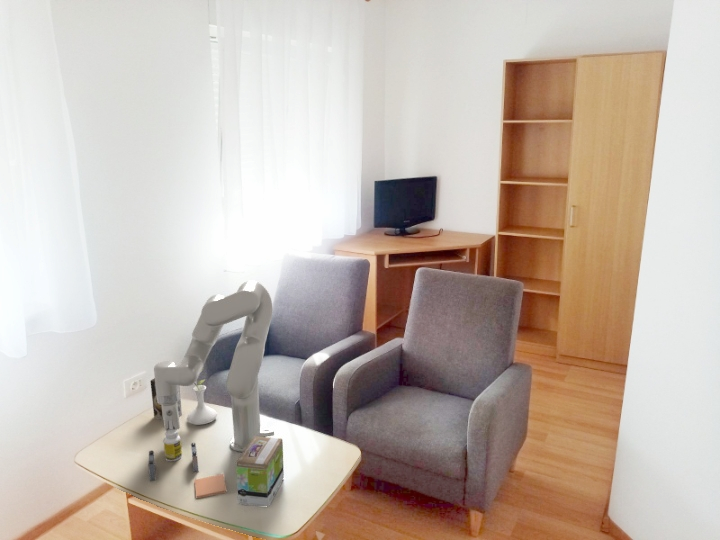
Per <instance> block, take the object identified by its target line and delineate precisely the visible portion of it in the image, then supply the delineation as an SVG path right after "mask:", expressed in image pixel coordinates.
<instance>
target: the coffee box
mask: <svg viewBox="0 0 720 540" xmlns="http://www.w3.org/2000/svg"><path fill="white" fill-rule="evenodd" d="M180 387H181V386H179V394H180V395H181V390H180V389H181V388H180ZM150 390H151V398H152V399H151V400H152V408H153V417H154V418H155V419H159V420H163V415H162V406H161V405H160V404H158V403H157V394H156V385H155V377H153V378H152V379H151V380H150ZM177 403H178V411H179V417H180V416H182V415H183V412H182V401H181V398H180V400H179V401H178V402H177Z"/></svg>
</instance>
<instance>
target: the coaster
mask: <svg viewBox="0 0 720 540" xmlns="http://www.w3.org/2000/svg"><path fill="white" fill-rule="evenodd" d="M194 486H195V487H194V488H195V497H196V498H195V499H200V498H201V499H202V498H206V497H210V496H215V495H219V494H223V493H227V487H226V480H225V475H224V473H221V474H216V475H212V476H207V477H202V478H197V479H194Z"/></svg>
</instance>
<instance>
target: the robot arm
mask: <svg viewBox="0 0 720 540" xmlns="http://www.w3.org/2000/svg"><path fill="white" fill-rule="evenodd" d="M272 317H273V302H272V298H271V296H270V293H269V291H268V290H267V289H266V287H265V286H264V285H263V284H261V283H260V282H258V281H256V280H247V281H245V282H243V283H242V284H241V285H240V286H239V287H238V289H237V291H236V292H234V293H231V294H229V295H227V296H225V295H223V294H214V295H212V296H210V297H209V298H207V300H206V302H205V304H204V305H203V306H202V308H201V312H200V315H199V318H198V320H197V322H196V324H195V325H194V326H195V327H194V328H193V330H192V333H191V336H192V337H191V341H190V343H189V346H188V348H187V350H186V353H185V355H184V356H183V358H182V360H181V362H180V364H179V365H177V363H175V362H174V361H171V360H164V361H160V362H158V363H156V364H155V365H154V367H153V373H154V378H155V385H156V394H157V403H158V404H160V405H161V406H162V415H163V419H162V421H163V427H164V432H166V431H168V430H172V429H176V430H177V431H178V430H180V428H181V427H180V425H181V424H180V422H181V421H180V416H179V411H178V403H177V402H178V401H179V400H180V399H181V393H180V394H179V386H180V387H190V386H193V385H195V384H196V382H197V381H198V378H199V376H200V375H201V373H202V372H201V370H202V368H203V367H204V365H205V363H206V360H207V359H208V358H209V357H208V356H209V354H210V352H211V351H212V349H213V346H214V345H216V343H217V340H218V338H219V336H220V334H221V333H222V332H221V331H222V329H223V327H224V326H225V325H227V324H229V323H231V322H234V321H237V320H239V319H242V318H245V321H244V325H243V328H242V332H241V335H240V338H239V340H238V342H237V344H236V347H235V350H234V353H233V356H232V360H231V364H230V367H229V371H228V374H227V378H226V381H225V389H226V392H227V393H228V395H230V399H231V402H230V403H231V412H232V413H231V414H232V415H231V416H232V429H233V436H232V438H231V439H230V441H229V446H230V448H231V449H232V450H233V451H236V452H240V453H242V452H243V451H244V450H245V448H246V447H247V445H248V444H249V443H250V441H251V440H252V438H253V437H254V436H257V437H273V436H275V430H273V429H272V430H270V428H264V429H263V428H261V418H260V417H261V416H260V415H261V414H260V398H259V397H260V396H259V373H260V370H261V367H262V362H263V358H264V354H265V347H266V342H267V339H268V338H267V337H268V334H269V330H270V325H271V322H272V319H273V318H272ZM203 369H204V368H203ZM202 371H203V370H202ZM194 383H195V384H194Z"/></svg>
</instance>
